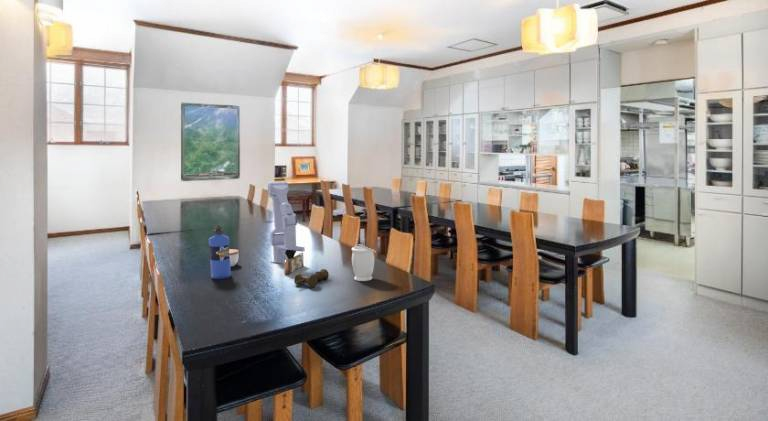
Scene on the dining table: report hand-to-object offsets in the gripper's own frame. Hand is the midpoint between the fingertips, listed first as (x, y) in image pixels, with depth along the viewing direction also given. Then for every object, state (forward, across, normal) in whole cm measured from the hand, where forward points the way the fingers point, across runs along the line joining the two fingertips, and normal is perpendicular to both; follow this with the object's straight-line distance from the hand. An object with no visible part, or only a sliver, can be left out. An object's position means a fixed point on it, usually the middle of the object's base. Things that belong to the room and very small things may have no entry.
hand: (291, 264), depth 229 cm
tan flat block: (+3, +2, +1) cm, 3 cm away
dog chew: (+3, +20, -19) cm, 28 cm away
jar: (+3, +40, -7) cm, 41 cm away
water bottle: (+3, -28, -18) cm, 34 cm away
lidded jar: (+3, -38, +2) cm, 38 cm away
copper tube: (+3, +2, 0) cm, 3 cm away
